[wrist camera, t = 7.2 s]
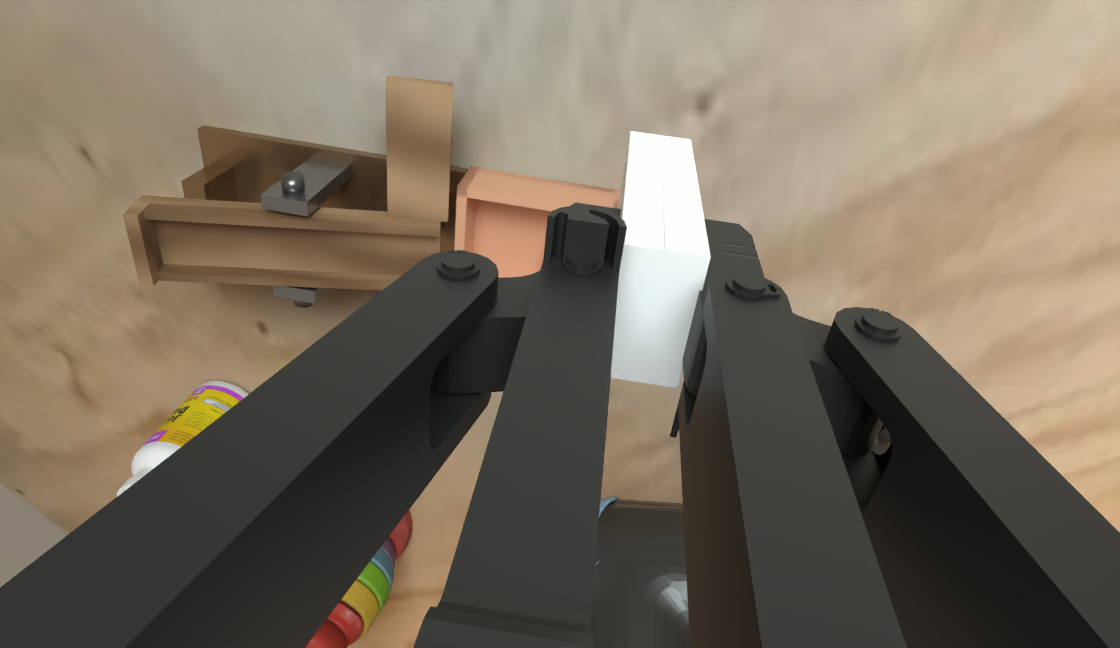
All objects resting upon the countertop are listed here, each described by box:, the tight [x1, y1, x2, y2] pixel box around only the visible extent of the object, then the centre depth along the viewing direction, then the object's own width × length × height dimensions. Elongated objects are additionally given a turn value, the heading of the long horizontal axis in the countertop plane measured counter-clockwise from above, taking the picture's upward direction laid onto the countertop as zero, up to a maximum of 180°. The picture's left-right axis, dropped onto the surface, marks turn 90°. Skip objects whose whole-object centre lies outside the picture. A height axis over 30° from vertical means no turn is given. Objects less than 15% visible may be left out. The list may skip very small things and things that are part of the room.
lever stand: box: [182, 126, 469, 307], centre depth 48 cm, size 10×20×8 cm, turn 83°
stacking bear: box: [305, 510, 412, 648], centre depth 64 cm, size 11×10×18 cm
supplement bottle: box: [117, 381, 249, 497], centre depth 59 cm, size 7×7×13 cm
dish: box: [454, 167, 621, 278], centre depth 50 cm, size 9×11×4 cm
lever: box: [123, 76, 453, 291], centre depth 43 cm, size 14×20×3 cm
